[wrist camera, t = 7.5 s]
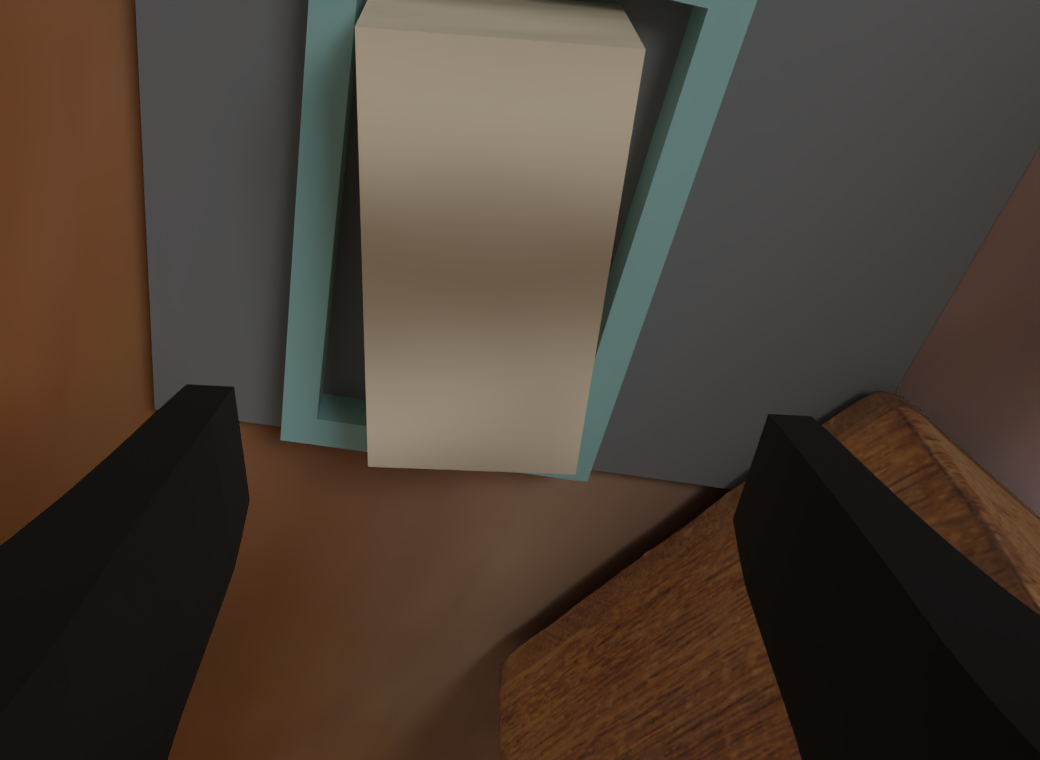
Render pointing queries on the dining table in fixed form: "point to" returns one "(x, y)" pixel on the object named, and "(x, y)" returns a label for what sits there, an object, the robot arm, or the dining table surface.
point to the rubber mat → (699, 235)
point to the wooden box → (732, 616)
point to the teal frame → (638, 258)
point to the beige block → (488, 223)
